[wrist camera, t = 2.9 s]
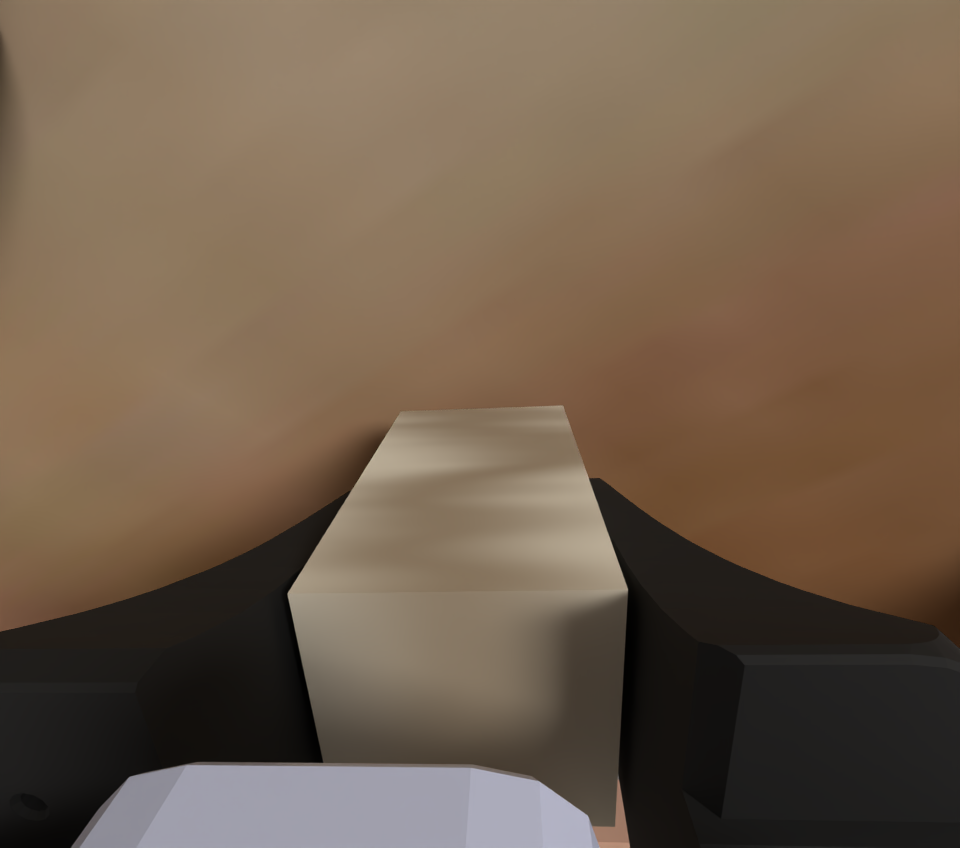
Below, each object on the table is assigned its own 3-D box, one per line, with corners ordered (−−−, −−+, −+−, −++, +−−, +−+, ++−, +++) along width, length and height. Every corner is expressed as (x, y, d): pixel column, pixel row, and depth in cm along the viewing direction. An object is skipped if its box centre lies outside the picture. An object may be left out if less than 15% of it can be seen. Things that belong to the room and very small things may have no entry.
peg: (563, 405, 12) (628, 590, 6) (562, 546, 14) (615, 826, 7) (400, 411, 13) (286, 593, 6) (416, 549, 14) (336, 822, 7)
